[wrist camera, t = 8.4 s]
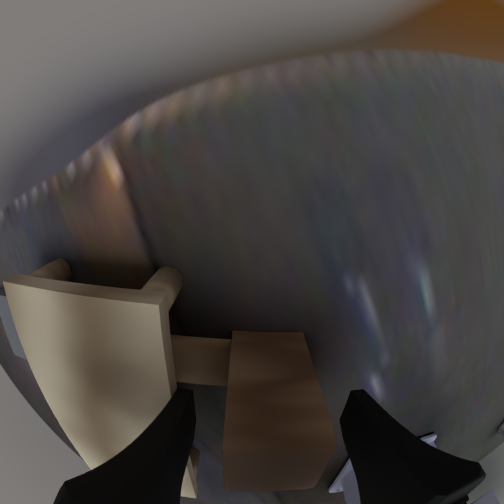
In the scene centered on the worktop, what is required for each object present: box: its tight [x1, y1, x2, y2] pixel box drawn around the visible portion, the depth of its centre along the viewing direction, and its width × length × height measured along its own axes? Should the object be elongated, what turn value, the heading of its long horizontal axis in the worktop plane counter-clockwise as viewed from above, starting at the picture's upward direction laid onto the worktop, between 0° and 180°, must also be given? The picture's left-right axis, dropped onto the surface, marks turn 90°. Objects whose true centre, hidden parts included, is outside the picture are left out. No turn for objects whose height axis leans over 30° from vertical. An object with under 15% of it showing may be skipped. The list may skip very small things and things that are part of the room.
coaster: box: [0, 288, 27, 360], centre depth 13 cm, size 5×5×1 cm
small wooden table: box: [3, 258, 200, 498], centre depth 12 cm, size 8×16×4 cm, turn 177°
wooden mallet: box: [170, 330, 338, 492], centre depth 10 cm, size 15×4×7 cm, turn 87°
